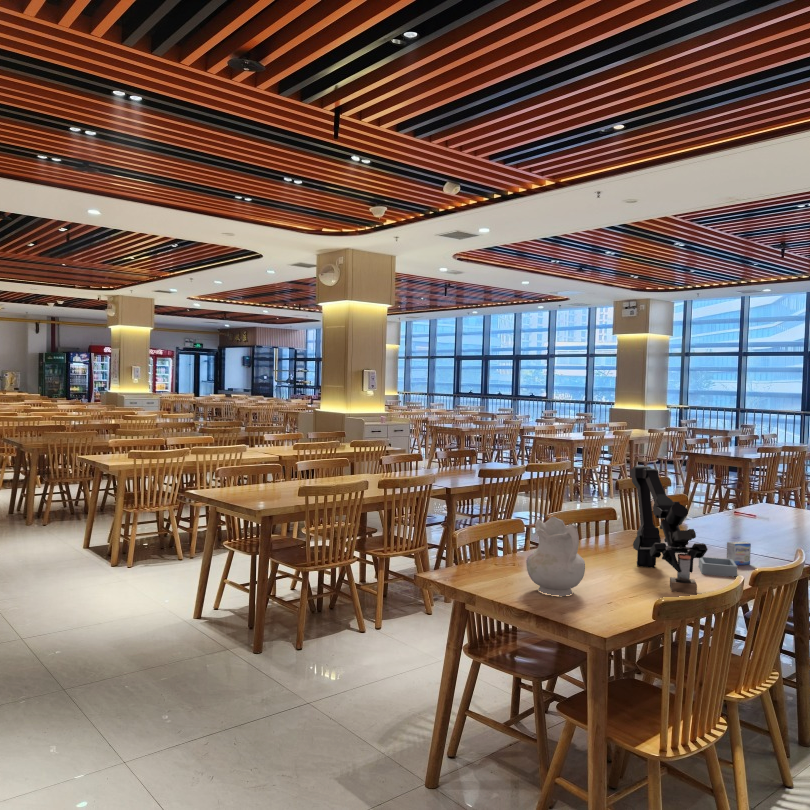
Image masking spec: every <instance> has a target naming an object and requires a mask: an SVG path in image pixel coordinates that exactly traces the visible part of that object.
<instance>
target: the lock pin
mask: <svg viewBox="0 0 810 810" xmlns="http://www.w3.org/2000/svg"><path fill="white" fill-rule="evenodd" d="M690 559H691V556H690V555H688V554H685V553H677V562H678V564H679V567H680V572H677V571H676V572H677V573H676V575H677V577H676V578H677V582H679V583H689V584H690V579H691V576H690V575H691V572H690Z"/></svg>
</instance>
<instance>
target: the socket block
mask: <svg viewBox="0 0 810 810" xmlns="http://www.w3.org/2000/svg"><path fill="white" fill-rule="evenodd" d="M669 588H670V590H671V592H672V593H679V594H681V593H682V594H691V595H698V584H697V582H696V580H695V579H694V578H690V584H689V583H679V582H677V577H672V576H670V577H669Z"/></svg>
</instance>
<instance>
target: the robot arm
mask: <svg viewBox="0 0 810 810" xmlns="http://www.w3.org/2000/svg"><path fill="white" fill-rule="evenodd" d="M629 474H630V477H631V483H632V485H634V486H635V489H636V490H637V501H638V502H637V503H638V511H639V512H638V513H639V521H640V523H639V524H640V525H639V528H638V530H637V531H636V537H635V539H634V540H633V543H632V548H633V550H635V551H636V552H637V555H636V557H637V559H636V567H638V568H639V567H640V568H641V567H643V568H651V569H655V567H656V565H657V558H658V559H659V558H661V559H662V560H663V561H665V562H667V563H668V564H669V565H670V566H671V567H672V568H673V569H674V570H675V571H676V572H680V567H679V564H678V558H677V556H676V554H688V555H690V556H691V559H690V574H691V573H693V571H694V570H693V569H694V559H699V558H702V557H705V555H706V553H707V552H708V551H709V549H708V547H707V545H706V543H697V542H696V543H695V542H694V544H692V546H690V547H689V546H688V545H689V542H690V541H692V540H694V539H696V537H697V534H696V530H695V529H694V528H689V529H687V530H683V529H681V528H680V526H682V525H683V523H684V521H685V520H686V518H687V516H688V514H689V510H688V508H687V507H686V506H685V505H683V504H681V503H680V501H674V500H672V498H670V497H669V496H667V493H666V491H665V489H664V487H663V484H662V482H661V479H660V476H659V471H658V469H656V468H652V467H651V466H649V465H647V466H646V465H645V466H644V465H634V466H633V467H632V468H630V471H629ZM651 498H652V499H651ZM652 500H653V506H652ZM653 515H654V516H655V518H656V519H659V520H660V519H662V520H661V522H660V525H659V527H656V526H655V524H654V517H653ZM660 530H662V532H663V534H664V537H665V538H664V540H663V541H664V542H662V539H661V535H660ZM661 553H662V554H661ZM661 555H662V556H661Z"/></svg>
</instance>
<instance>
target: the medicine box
mask: <svg viewBox="0 0 810 810" xmlns="http://www.w3.org/2000/svg"><path fill="white" fill-rule="evenodd" d="M751 548H752V547H751V542H747V541H727V542H726V559H732V560H733V561H734V563H735V564H736V565H737V566H748V565H751V551H752V550H751Z"/></svg>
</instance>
